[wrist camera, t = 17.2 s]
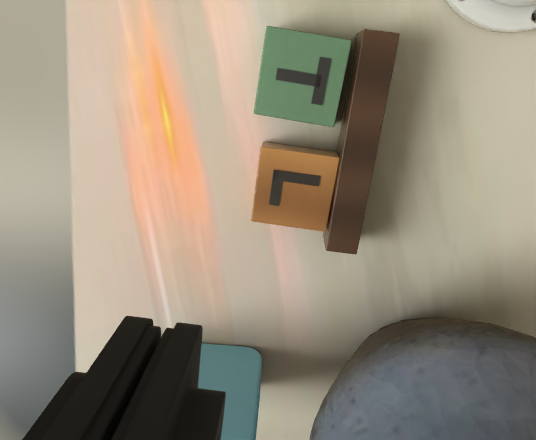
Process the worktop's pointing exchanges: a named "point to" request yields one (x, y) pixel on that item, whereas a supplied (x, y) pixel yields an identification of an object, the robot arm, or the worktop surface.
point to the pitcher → (434, 385)
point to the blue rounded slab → (233, 386)
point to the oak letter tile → (294, 186)
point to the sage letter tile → (301, 76)
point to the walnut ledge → (360, 136)
